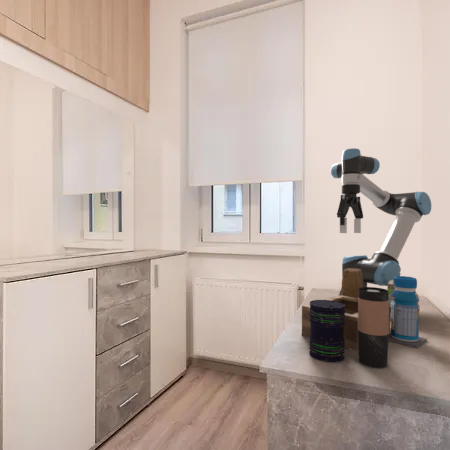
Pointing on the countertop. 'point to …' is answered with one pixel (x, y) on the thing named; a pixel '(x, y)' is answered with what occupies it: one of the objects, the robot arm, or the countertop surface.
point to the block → (351, 282)
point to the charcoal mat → (411, 344)
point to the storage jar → (327, 330)
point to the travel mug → (373, 326)
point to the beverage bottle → (405, 309)
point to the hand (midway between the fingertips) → (350, 233)
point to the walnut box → (350, 320)
